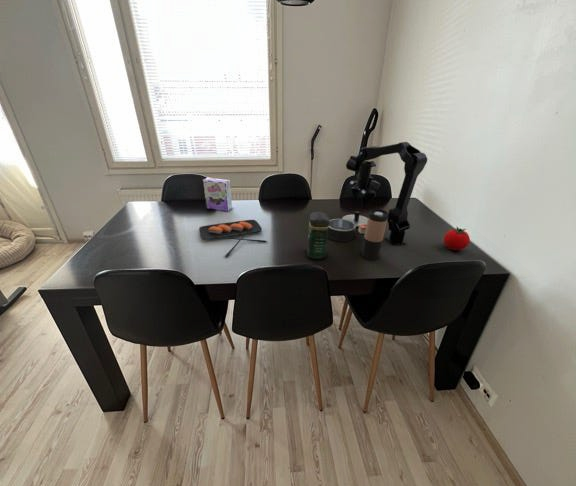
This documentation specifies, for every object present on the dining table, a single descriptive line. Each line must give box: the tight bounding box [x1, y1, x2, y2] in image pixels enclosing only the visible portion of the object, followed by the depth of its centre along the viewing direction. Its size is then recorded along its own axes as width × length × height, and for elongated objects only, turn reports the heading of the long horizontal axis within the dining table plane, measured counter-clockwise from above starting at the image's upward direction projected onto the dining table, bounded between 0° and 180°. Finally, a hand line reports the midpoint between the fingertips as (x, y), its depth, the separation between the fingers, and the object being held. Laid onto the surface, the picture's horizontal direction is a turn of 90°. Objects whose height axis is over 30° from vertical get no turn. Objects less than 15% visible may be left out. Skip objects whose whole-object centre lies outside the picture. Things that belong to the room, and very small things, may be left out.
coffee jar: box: [306, 211, 330, 260], centre depth 122 cm, size 10×8×19 cm
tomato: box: [443, 226, 471, 251], centre depth 132 cm, size 10×10×10 cm
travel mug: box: [361, 208, 389, 260], centre depth 122 cm, size 8×8×20 cm
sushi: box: [357, 224, 367, 235], centre depth 146 cm, size 7×4×3 cm, turn 102°
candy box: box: [202, 176, 233, 212], centre depth 163 cm, size 14×6×16 cm, turn 73°
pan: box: [327, 218, 357, 242], centre depth 142 cm, size 14×14×6 cm
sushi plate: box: [198, 219, 267, 258], centre depth 136 cm, size 29×30×4 cm
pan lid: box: [341, 210, 368, 228], centre depth 155 cm, size 15×15×6 cm
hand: (359, 205), depth 151 cm, fingers open, 9 cm apart
